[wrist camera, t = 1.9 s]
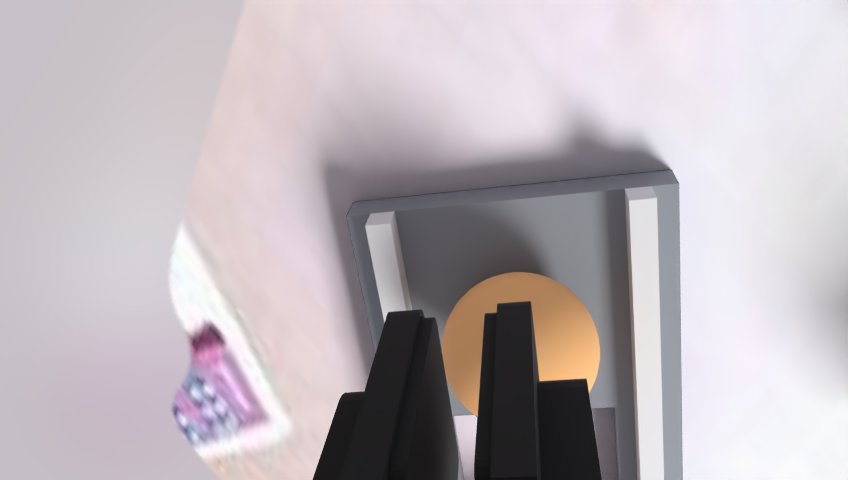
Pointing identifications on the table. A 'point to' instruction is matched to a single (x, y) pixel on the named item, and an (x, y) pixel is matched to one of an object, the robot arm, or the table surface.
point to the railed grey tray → (561, 261)
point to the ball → (553, 325)
